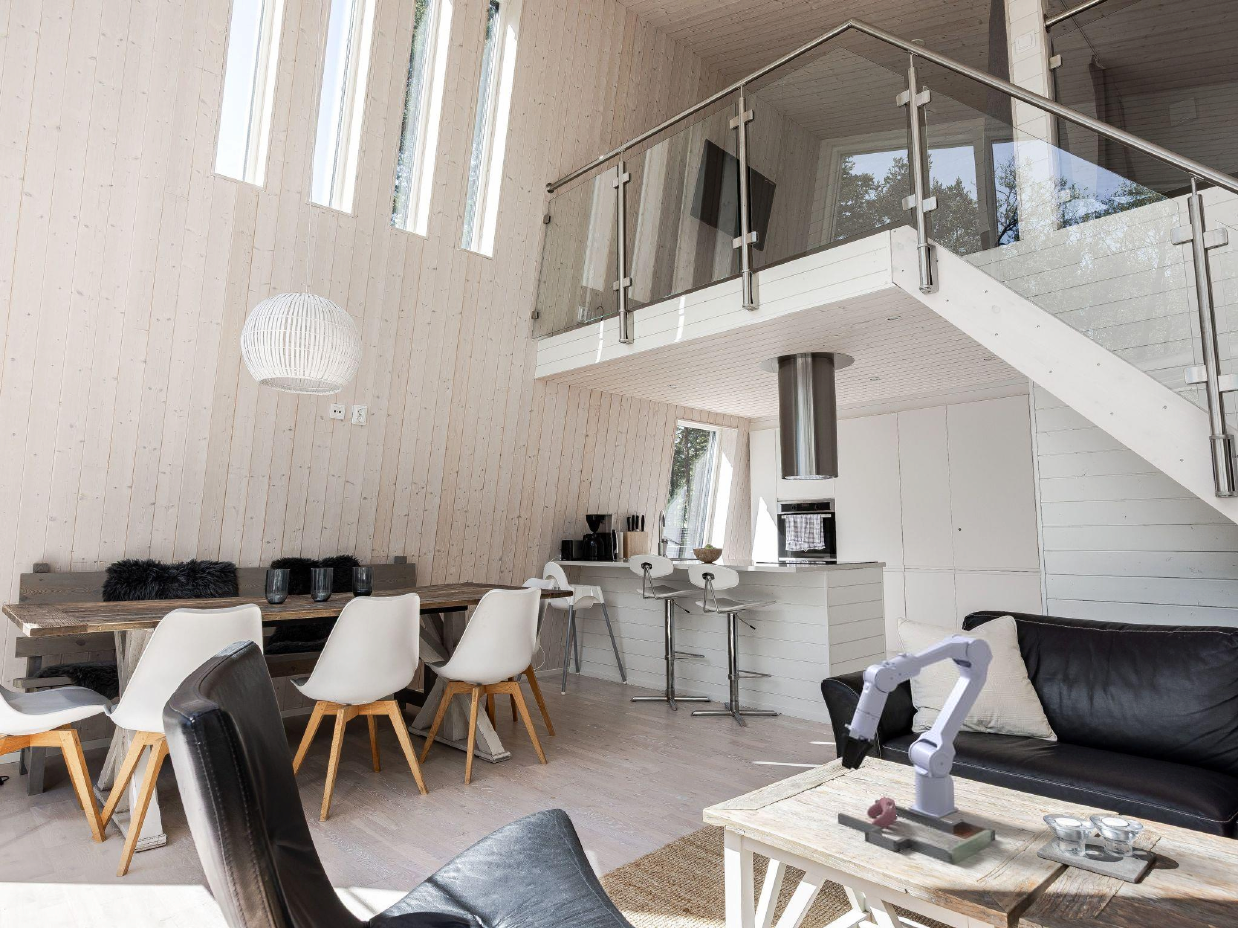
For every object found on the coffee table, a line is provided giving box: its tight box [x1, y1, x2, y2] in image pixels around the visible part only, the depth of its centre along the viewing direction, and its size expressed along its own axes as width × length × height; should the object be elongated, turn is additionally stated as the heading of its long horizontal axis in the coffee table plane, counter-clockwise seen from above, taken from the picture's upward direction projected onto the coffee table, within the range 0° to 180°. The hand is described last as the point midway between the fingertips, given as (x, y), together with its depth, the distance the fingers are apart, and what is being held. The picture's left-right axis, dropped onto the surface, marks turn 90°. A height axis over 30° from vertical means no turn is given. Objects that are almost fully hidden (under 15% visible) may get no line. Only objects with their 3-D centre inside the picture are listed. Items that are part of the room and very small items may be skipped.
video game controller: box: [866, 795, 898, 830], centre depth 177 cm, size 10×5×7 cm, turn 168°
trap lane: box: [837, 799, 996, 865], centre depth 172 cm, size 24×28×3 cm
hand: (849, 767), depth 183 cm, fingers open, 7 cm apart
